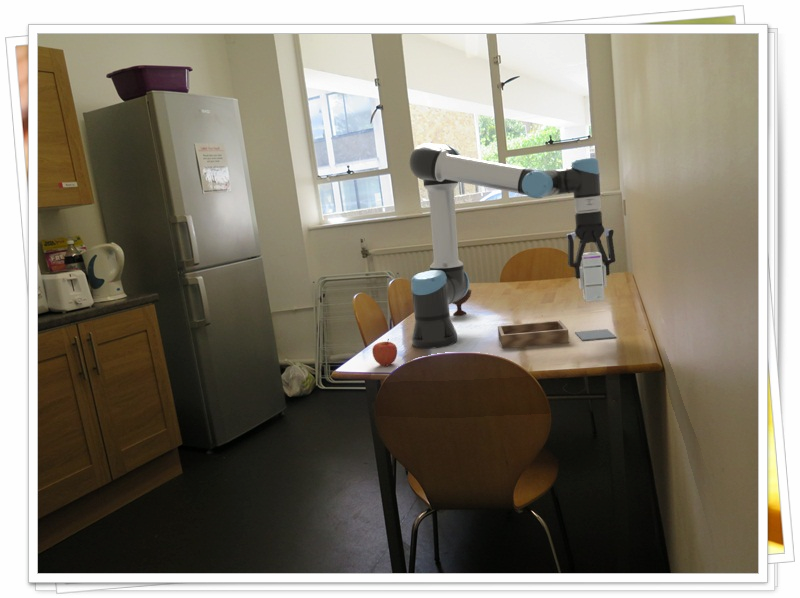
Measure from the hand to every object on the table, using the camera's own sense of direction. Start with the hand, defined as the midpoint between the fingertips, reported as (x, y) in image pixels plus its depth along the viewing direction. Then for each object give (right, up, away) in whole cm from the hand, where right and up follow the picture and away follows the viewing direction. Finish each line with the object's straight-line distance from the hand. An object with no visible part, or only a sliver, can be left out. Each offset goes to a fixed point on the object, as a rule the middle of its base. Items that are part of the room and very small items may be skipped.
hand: (593, 287), depth 174 cm
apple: (-63, -24, -3) cm, 67 cm away
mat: (+1, -15, +3) cm, 15 cm away
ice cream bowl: (-35, -10, +57) cm, 67 cm away
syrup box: (0, -4, +1) cm, 4 cm away
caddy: (-17, -16, +6) cm, 24 cm away
